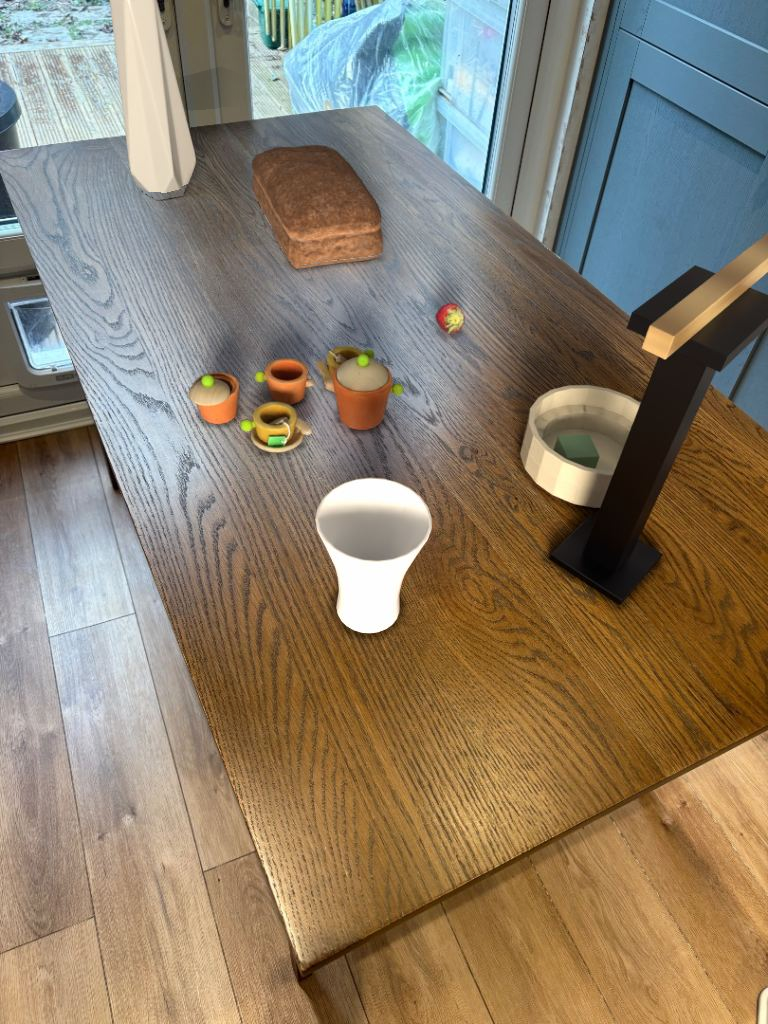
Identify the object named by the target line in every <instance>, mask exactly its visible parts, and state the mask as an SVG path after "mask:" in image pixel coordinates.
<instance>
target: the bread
mask: <svg viewBox="0 0 768 1024" xmlns="http://www.w3.org/2000/svg"><path fill="white" fill-rule="evenodd" d="M251 169H252V170H251V171H252V173H253V175H252V183H251V187H252V193H253V192H254V194H255V196H256V198H257V200H258V202H259V204H260V206H261V207H262V210H263V212H264V214H265V215H266V217H267V219H268V221H269V223H270V224H271V227H272V229H273V231H274V233H273V231H272V229H271V227H270V225H269V223H268V222H267V221H266V223H267V224H268V227H269V229H270V230H271V232H272V234H273V236H274V239H275V241H276V243H277V244H278V246H279V247H280V250H281V251H282V253H283V254H284V256H285V258H286V259H287V261H288V262H289V261H290V262H291V263H290V262H289V263H290V265H291V266H292V267H293V268H294V269H296V270H297V269H306V268H313V267H318V266H319V267H320V266H327V265H334V264H342V263H343V264H344V263H355V262H362V261H368V260H369V261H370V260H374V259H377V258H380V257H381V256H382V254H383V250H384V249H383V247H384V236H383V232H382V228H381V225H382V212H381V209H380V206H379V204H378V202H377V201H376V199H375V198H374V196H373V195H372V194H371V192H370V191H369V190H368V188H367V186H366V184H365V183H364V181H363V180H362V179H361V177H360V176H359V174H358V173H357V171H356V170H355V169H354V167H353V166H352V165H351V164H350V162H349V161H347V159H346V158H344V156H342V155H341V153H339V151H337V150H336V149H334V148H332V147H329V146H327V145H319V144H306V145H299V146H279V147H278V146H277V147H274V148H271V149H267V150H266V151H263V152H261V153H257V154H256V155H255V157H253V159H252V160H251ZM257 200H256V201H257ZM258 202H257V203H258ZM259 204H258V205H259ZM274 234H275V235H274ZM275 236H276V238H277V240H278V241H277V240H276V238H275ZM278 242H279V243H278ZM279 244H280V245H279ZM281 247H282V248H281ZM282 249H283V250H282ZM283 251H284V252H283ZM381 253H382V254H381ZM379 254H381V255H379ZM374 255H378V256H374ZM368 256H374V257H368ZM359 257H367V258H359ZM350 258H356V259H350ZM340 259H346V260H340ZM331 260H337V261H331ZM323 261H324V262H323ZM325 261H328V262H325ZM316 262H320V263H316ZM292 263H293V264H292ZM311 263H314V264H311ZM301 264H307V265H301ZM295 265H299V266H295Z"/></svg>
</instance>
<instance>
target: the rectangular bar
mask: <svg viewBox="0 0 768 1024" xmlns="http://www.w3.org/2000/svg"><path fill="white" fill-rule="evenodd" d="M767 273H768V232H766V233H765V234H764V235H763V236H762V237H761V238H759V239H758V240H756V241H755V242H754V243H753V244H752V245H750V246H749V247H748V248H746V249H745V250H744V251H742V252H741V253H740V254H738V255H737V256H736V257H735V258H733V259H732V260H731V261H729V263H727V264H726V265H724V266H723V267H722V268H721V269H719V270H718V271H716V274H715V275H713V276H712V277H711V278H709V279H708V280H707V281H706V282H704V283H703V284H702V285H701V286H699V287H698V288H697V289H695V290H694V291H693V292H692V293H690V294H689V295H688V296H687V297H685V298H684V299H683V300H681V301H680V302H679V303H678V304H676V305H675V306H674V307H673V308H671V309H670V310H669V311H667V312H666V313H665V314H664V315H662V316H661V317H660V318H659V319H657V320H656V321H655V322H653V323H652V324H651V325H650V326H649V329H648V331H647V334H646V337H644V340H643V343H642V345H641V349H642V350H644V351H647V352H648V353H650V354H652V355H654V356H657V357H661V358H663V359H667V358H668V357H669V356H670V355H671V354H672V353H674V352H675V351H676V350H677V349H678V348H679V347H681V346H682V345H683V344H684V343H685V342H686V341H688V340H689V339H690V338H691V337H692V336H693V335H695V334H696V333H697V332H698V331H699V330H700V329H702V328H703V327H704V326H705V325H706V324H708V323H709V322H710V321H711V320H712V319H713V318H715V317H716V316H717V315H718V314H719V313H720V312H722V311H723V310H724V309H725V308H726V307H727V306H729V305H730V304H731V303H732V302H733V301H734V300H736V299H737V298H738V297H739V296H740V295H741V294H743V293H744V292H745V291H746V290H747V289H748V288H752V286H753V285H755V283H757V282H758V281H759V280H761V278H762V277H764V276H765V275H766V274H767Z"/></svg>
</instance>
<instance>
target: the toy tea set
mask: <svg viewBox="0 0 768 1024" xmlns="http://www.w3.org/2000/svg"><path fill="white" fill-rule="evenodd" d="M374 358H375V352H374V351H373V349H371V348H368V349H367V348H366V349H365V350H364V351H363V350H362V349H360V348H359V347H355V346H351V345H342V346H338V347H335V348H333V349H331V350H328V353H327V356H326V361H327V363H326V361H325V360H323V359H318V360H316V362H315V366H316V368H317V370H318V372H319V373H320V374H321V376H322V379H323V384H324V388H325V389H326V390H327V391H329V392H332V393H334V396H335V401H336V406H337V411H338V417H339V420H340V421H341V422H342V424H344V426H346V427H348V428H350V429H353V430H358V431H366V430H371V429H375V428H376V427H377V426H378V425H380V424H381V423H382V421H383V419H384V415H385V411H386V408H387V403H388V400H389V397H390V393H392V394H393V395H394V396H396V397H397V396H401V395H403V393H404V386H403V385H402V384H400V383H394V384H393V375H392V372H391V371H390V369H389V368H388V367H387V366H386V365H385V364H383V363H382V362H380V361H378V360H377V359H374ZM254 379H255V381H256V382H258V383H261V384H262V383H264V382H265V381H266V383H267V388H268V391H269V394H270V397H271V399H272V400H273V401H268V402H265V403H262V404H260V405H259V406H257V407H256V408H255V409H254V411H253V413H252V419H253V420H251V419H249V418H245V419H243V420H241V421H240V423H239V424H240V429H241V430H242V431H243V432H250V439H251V441H252V444H254V446H256V448H259V449H260V450H263V451H264V452H268V453H284V452H288V451H291V450H293V449H295V448H296V447H298V446H299V445H300V444H301V443H302V442H303V440H304V437H305V436H310V435H311V434H313V426H312V425H310V424H309V423H308V422H306V421H305V420H303V419H301V418H299V417H298V415H297V411H296V409H295V408H294V407H293V406H291V405H294V404H295V405H296V404H298V403H299V402H301V401H302V400H303V399H304V397H305V395H306V390H307V388H309V387H314V385H315V380H314V379H313V378H309V367H308V366H307V365H306V364H305V363H304V362H303V361H301V360H299V359H296V358H291V357H290V358H289V357H284V358H278V359H275V360H272V361H270V362H269V363H268V364H267V365H266V367H265V369H264V371H263V370H257V371H256V372H255V374H254ZM239 396H240V382H239V380H238V379H237V378H236V377H235V376H234V375H232V374H230V373H226V372H220V371H214V372H208V373H205V374H202V375H200V376H198V377H197V378H196V379H195V380H194V381H193V383H192V385H191V386H190V388H189V390H188V398H189V400H191V402H192V403H194V404H196V405H197V408H198V410H199V413H200V416H201V417H202V419H203V420H204V421H205V422H208V423H210V424H215V425H222V424H226V423H229V422H231V421H232V420H234V418H236V417H237V413H238V405H239V398H240V397H239Z"/></svg>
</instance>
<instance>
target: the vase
mask: <svg viewBox="0 0 768 1024" xmlns="http://www.w3.org/2000/svg"><path fill="white" fill-rule="evenodd" d="M109 9H110V16H111V24H112V31H113V33H112V34H113V41H114V49H115V58H116V65H117V75H118V82H119V90H120V99H121V107H122V108H121V109H122V114H123V123H124V124H123V125H124V132H125V141H126V149H127V157H128V165H129V172H130V174H131V176H132V178H133V179H134V181H135V184H136V185H137V187H138V188H139V187H140V188H142V189H144V190H146V191H148V192H161V193H167V192H171V191H175V190H179V189H181V187H182V186H184V185H186V184H188V185H189V183H190V181H191V178H192V176H193V173H194V169H195V167H196V163H197V157H196V153H195V147H194V144H193V140H192V135H191V131H190V127H189V122H188V120H187V115H186V111H185V107H184V103H183V99H182V96H181V92H180V88H179V84H178V78H177V74H176V71H175V67H174V63H173V58H172V55H171V50H170V47H169V42H168V39H167V34H166V31H165V26H164V23H163V19H162V15H161V11H160V7H159V2H158V0H109ZM140 188H139V189H140Z"/></svg>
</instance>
